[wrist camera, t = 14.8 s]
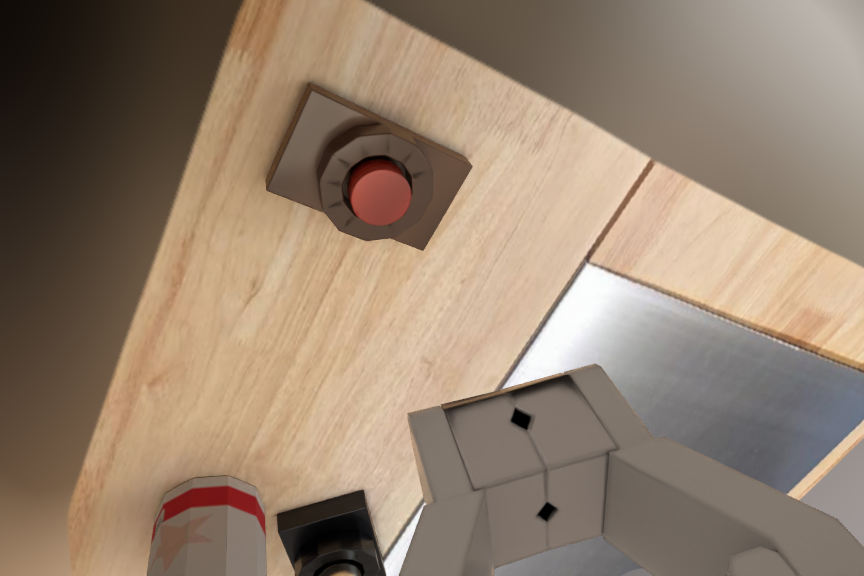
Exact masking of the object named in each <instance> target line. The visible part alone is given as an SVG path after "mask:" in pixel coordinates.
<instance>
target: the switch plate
mask: <svg viewBox="0 0 864 576" xmlns="http://www.w3.org/2000/svg"><path fill="white" fill-rule="evenodd" d="M277 521H278V533H279V536H280V538H281V540H282V543H283V545H284V547H285V550H286V552H287V554H288V557H289V559H290V561H291V564H292V566H293V568H294V571H295V576H315V574H316V571H317V570H318V569H319V568H320V567H321V566H323V565H324V564H326V563H329V562H333V561H336V560H340V559H353V560H355V561H357V562H358V563H359V565H360V569H361V575H362V576H386V572H385V567H384V562H383V558H382V554H381V551H380V547H379V544H378V540H377V536H376V533H375V529H374V526H373V522H372V519H371V515H370V511H369V508H368V504H367V501H366V497H365V493H364V491H363V490H362V491H359V492H355V493H352V494H348V495H345V496H341V497H338V498H334V499H330V500H327V501H323V502H320V503H316V504H313V505H309V506H306V507H302V508H298V509H295V510H291V511H288V512H284V513H281V514H278V515H277Z"/></svg>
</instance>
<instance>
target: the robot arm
mask: <svg viewBox="0 0 864 576" xmlns="http://www.w3.org/2000/svg"><path fill="white" fill-rule="evenodd" d="M407 418H408V424H409V429H410V434H411V439H412V444H413V450H414V455H415V460H416V465H417V469H418V474H419V478H420V483H421V487H422V491H423V496H424V499H425V503H426V505H425V506H424V507H423V510H422V513H421V515H420V518H419V521H418V524H417V527H416V529H415V532H414V535H413V538H412V540H411V543H410V546H409V549H408V551H407V554H406V557H405V560H404V562H403V565H402V568H401V571H400V573H399V576H494V573H495V572H494V569H495V568H498V567H501V566H504V565H507V564H510V563H513V562H516V561H519V560H522V559H524V558H527V557H530V556H533V555H536V554H539V553H542V552H545V551H548V550H552V549H556V548H559V547H563V546H566V545H570V544H574V543H577V542H581V541H585V540H588V539H592V538H595V537H599V536H603V539H605V540H606V541H607V542H609V543H610V544H611V545H613V546H614V547H615V548H617V549H618V550H619V551H621V552H622V553H623V554H625V555H626V556H627V557H629V558H630V559H631V560H633V561H634V562H635V563H637V564H638V565H639V566H641V567H642V568H643V569H645V570H646V571H648V572H649V573H650V574H652V575H653V576H864V547H863V546H862V545H861V544H860V543H859V542H858V540H857V539H856V538H855V537H854V536H853V535H852V534H851V533H850V532H849V531H848V530H847V529H846V527H845V526H844V525H843V524H842V523H841V522H840V521H839V520H838V519H836V518H834V517H832V516H830V515H828V514H826V513H824V512H822V511H820V510H818V509H815V508H813V507H811V506H809V505H807V504H805V503H803V502H800V501H799V500H797V499H794V498H792V497H790V496H788V495H786V494H784V493H782V492H780V491H778V490H776V489H773V488H771V487H769V486H767V485H765V484H763V483H761V482H759V481H757V480H755V479H752V478H750V477H748V476H746V475H744V474H742V473H740V472H738V471H736V470H734V469H731V468H729V467H727V466H725V465H723V464H721V463H719V462H717V461H715V460H713V459H710V458H708V457H706V456H704V455H702V454H700V453H698V452H696V451H694V450H692V449H689V448H687V447H685V446H683V445H681V444H679V443H677V442H675V441H673V440H671V439H668V438H666V437H661V438H657V439H655V438H654V437H653V436H652V434H651V433H650V432H649V430H648V429H647V428H646V426H645V425H644V424H643V422H642V421H641V420H640V418H639V417H638V416H637V414H636V413H635V411H634V410H633V409H632V407H631V406H630V405H629V403H628V402H627V401H626V399H625V398H624V397H623V395H622V394H621V393H620V391H619V390H618V389H617V387H616V386H615V385H614V383H613V382H612V381H611V379H610V378H609V376H608V375H607V374H606V372H605V371H604V370H603V368H602V367H601V366H599V365H597V364H592V365H588V366H584V367H581V368H577V369H573V370H570V371H566V372H564V373H559V374H555V375H552V376H548V377H544V378H541V379H537V380H534V381H530V382H526V383H523V384H519V385H516V386H512V387H508V388H505V389H502V390H499V391H495V392H491V393H487V394H483V395H478V396H474V397H470V398H466V399H462V400H458V401H453V402H449V403H445V404H441V407H440V406H436V407H431V408H427V409H423V410H419V411H415V412H410V413H408V416H407Z"/></svg>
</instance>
